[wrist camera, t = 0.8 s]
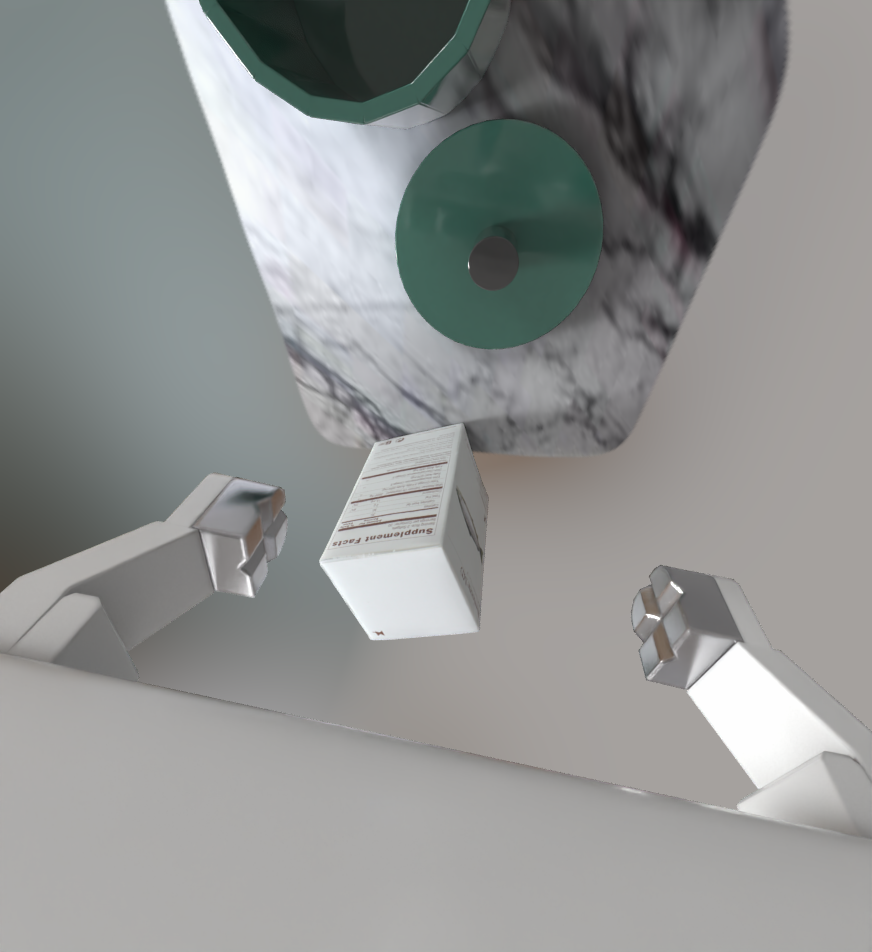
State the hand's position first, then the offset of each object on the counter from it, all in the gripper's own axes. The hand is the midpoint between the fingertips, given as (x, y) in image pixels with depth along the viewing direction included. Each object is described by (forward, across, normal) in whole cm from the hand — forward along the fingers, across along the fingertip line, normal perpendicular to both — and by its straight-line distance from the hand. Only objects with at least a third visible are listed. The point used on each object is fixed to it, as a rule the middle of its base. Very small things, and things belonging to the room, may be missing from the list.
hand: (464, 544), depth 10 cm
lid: (+20, 0, -2) cm, 20 cm away
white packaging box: (+21, +2, +14) cm, 25 cm away
